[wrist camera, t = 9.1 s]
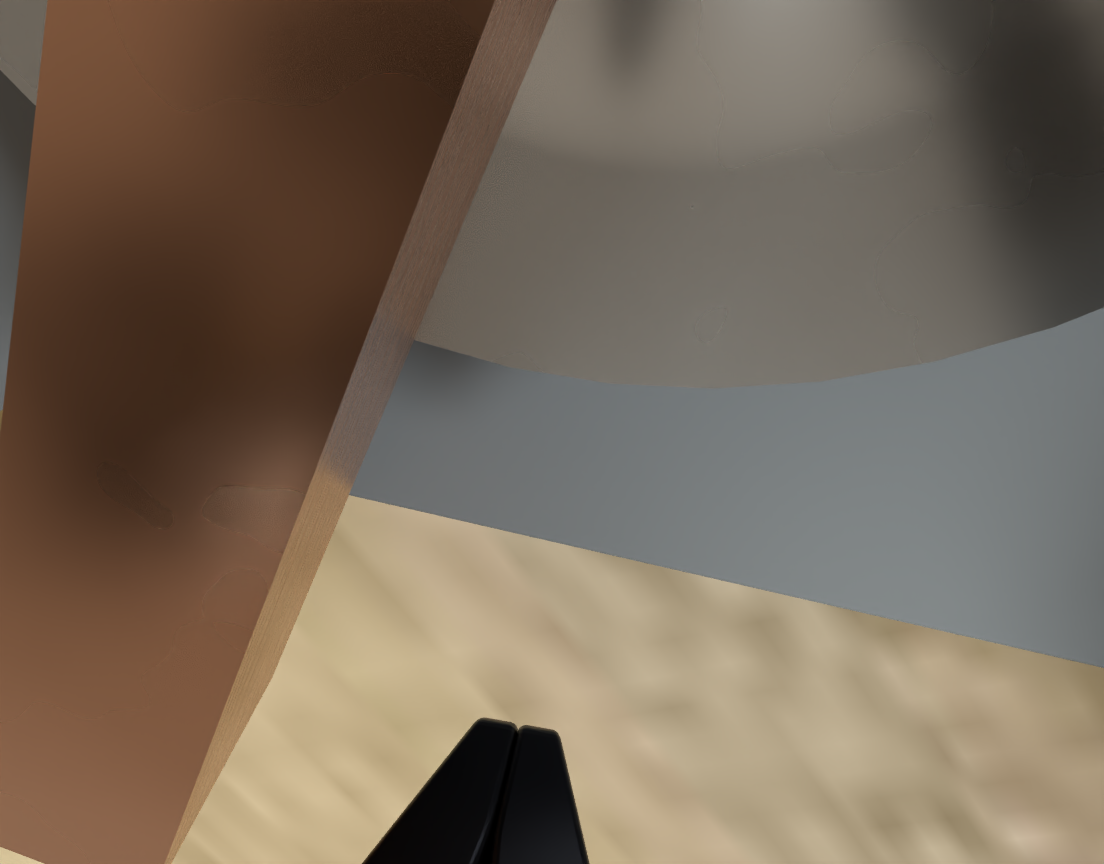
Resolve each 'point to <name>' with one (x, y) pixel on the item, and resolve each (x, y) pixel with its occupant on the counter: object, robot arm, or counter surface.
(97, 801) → the grey disc with handle
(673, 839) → the counter surface
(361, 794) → the counter surface
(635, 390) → the post plate
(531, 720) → the counter surface
